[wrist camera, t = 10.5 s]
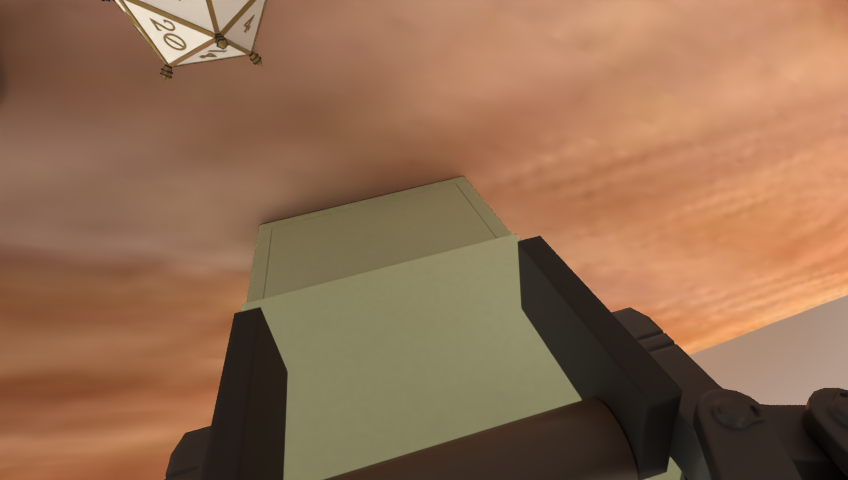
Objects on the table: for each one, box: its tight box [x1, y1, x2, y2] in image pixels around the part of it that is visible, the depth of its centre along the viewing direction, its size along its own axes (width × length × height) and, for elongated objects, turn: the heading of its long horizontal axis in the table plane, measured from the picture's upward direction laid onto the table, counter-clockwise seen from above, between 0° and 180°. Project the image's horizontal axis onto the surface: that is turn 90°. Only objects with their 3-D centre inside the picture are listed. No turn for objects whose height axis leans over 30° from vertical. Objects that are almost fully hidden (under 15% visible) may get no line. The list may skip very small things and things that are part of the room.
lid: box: [241, 234, 682, 480], centre depth 18 cm, size 18×16×8 cm
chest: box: [246, 176, 512, 303], centre depth 36 cm, size 17×16×10 cm
